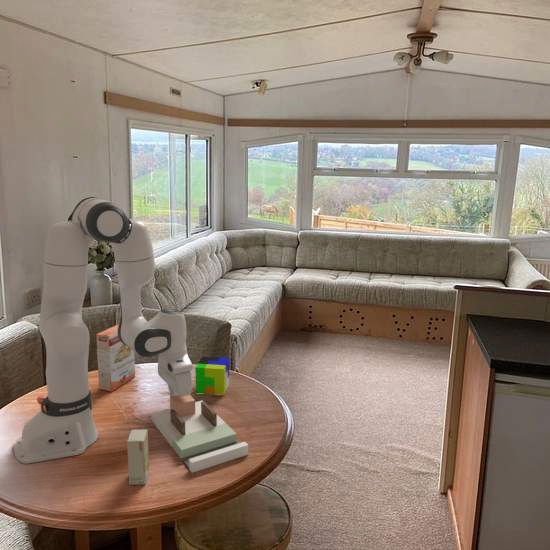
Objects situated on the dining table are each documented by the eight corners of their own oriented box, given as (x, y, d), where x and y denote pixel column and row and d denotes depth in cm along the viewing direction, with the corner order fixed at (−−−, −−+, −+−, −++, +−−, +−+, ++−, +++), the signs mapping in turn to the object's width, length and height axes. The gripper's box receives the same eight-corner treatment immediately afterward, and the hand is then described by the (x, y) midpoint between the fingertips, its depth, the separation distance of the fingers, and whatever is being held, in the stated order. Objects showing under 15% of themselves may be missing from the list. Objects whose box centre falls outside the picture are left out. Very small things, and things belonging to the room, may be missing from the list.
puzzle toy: (229, 383, 192) (229, 358, 189) (224, 395, 182) (223, 369, 180) (202, 381, 192) (202, 356, 190) (195, 394, 183) (195, 367, 180)
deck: (192, 472, 138) (191, 462, 137) (152, 421, 164) (152, 413, 163) (248, 454, 147) (248, 444, 146) (202, 408, 172) (202, 400, 172)
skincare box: (146, 485, 133) (144, 441, 130) (128, 485, 132) (126, 442, 130) (149, 470, 139) (148, 428, 136) (133, 470, 139) (131, 428, 136)
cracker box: (112, 392, 183) (109, 336, 178) (98, 389, 185) (94, 333, 180) (136, 377, 195) (134, 324, 190) (123, 374, 197) (120, 322, 193)
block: (177, 418, 160) (176, 404, 159) (170, 410, 165) (169, 397, 164) (195, 413, 163) (195, 400, 162) (187, 405, 168) (187, 392, 167)
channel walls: (182, 435, 150) (181, 422, 149) (170, 421, 158) (170, 409, 157) (216, 425, 156) (216, 413, 155) (204, 412, 163) (204, 401, 163)
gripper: (152, 349, 173) (153, 388, 176) (175, 371, 156) (176, 413, 160) (170, 346, 176) (171, 383, 180) (195, 367, 160) (195, 408, 163)
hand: (174, 398), depth 169 cm, fingers closed
